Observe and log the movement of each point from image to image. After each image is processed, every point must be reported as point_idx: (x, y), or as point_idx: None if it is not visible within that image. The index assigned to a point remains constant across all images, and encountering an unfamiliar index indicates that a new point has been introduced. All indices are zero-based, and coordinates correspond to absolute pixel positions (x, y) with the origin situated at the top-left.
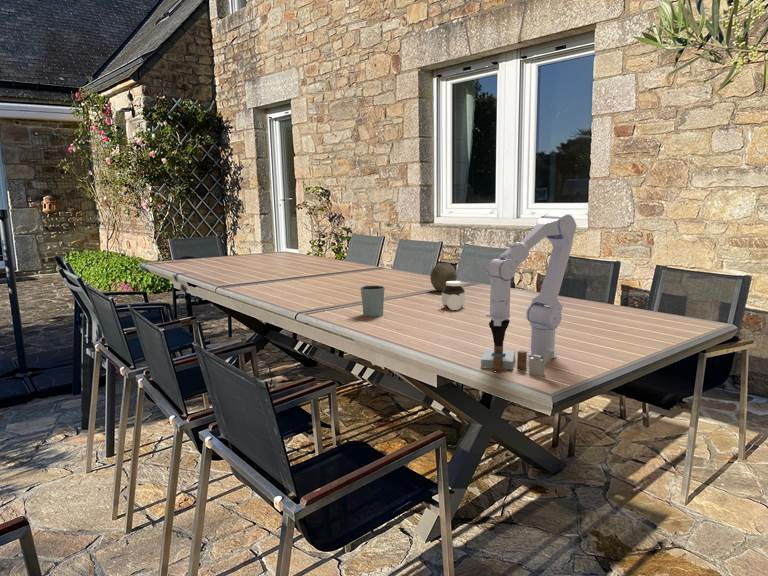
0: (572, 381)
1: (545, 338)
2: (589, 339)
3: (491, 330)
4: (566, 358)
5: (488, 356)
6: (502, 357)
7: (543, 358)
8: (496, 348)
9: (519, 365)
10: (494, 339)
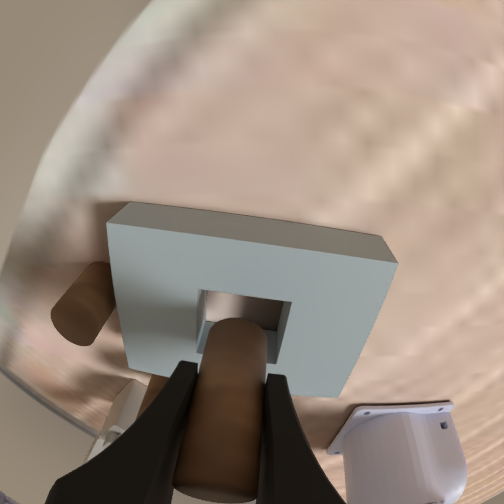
0: None
1: (347, 496)
2: (473, 464)
3: (95, 456)
4: (329, 462)
5: (188, 272)
6: (83, 345)
7: (92, 447)
8: (203, 354)
9: (152, 375)
10: (158, 400)
